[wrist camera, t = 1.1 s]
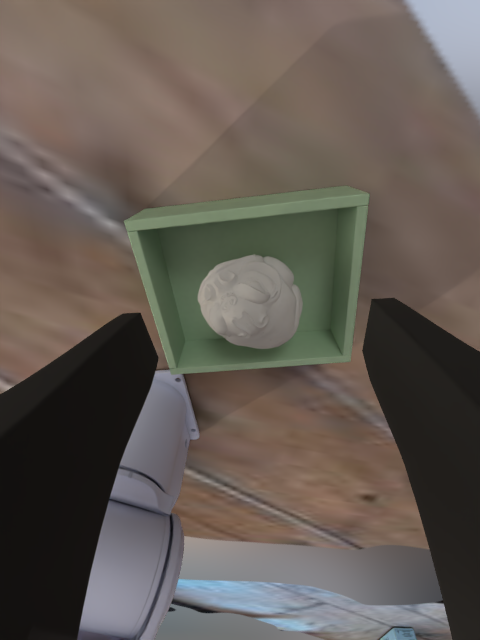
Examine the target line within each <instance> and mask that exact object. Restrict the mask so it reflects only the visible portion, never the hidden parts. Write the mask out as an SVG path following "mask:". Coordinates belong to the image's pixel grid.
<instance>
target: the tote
mask: <svg viewBox="0 0 480 640" xmlns="http://www.w3.org/2000/svg"><path fill="white" fill-rule="evenodd" d="M369 196H370V194H369V193H367V192H364V191H361V190H358V189H355V188H352V187H349V186H339V187H330V188H321V189H313V190H304V191H295V192H287V193H278V194H269V195H261V196H252V197H244V198H235V199H226V200H218V201H209V202H200V203H192V204H183V205H175V206H166V207H157V208H149V209H144V210H143V211H141V212H139V213H138V214H136V215H134V216H132V217H131V218H129V219H127V220H125V221H124V223H125V226H126V230H127V231H128V236H129V239H130V243H131V246H132V249H133V252H134V256H135V259H136V262H137V265H138V268H139V272H140V275H141V278H142V281H143V285H144V288H145V291H146V294H147V298H148V301H149V304H150V307H151V311H152V314H153V317H154V320H155V324H156V327H157V330H158V333H159V337H160V340H161V343H162V346H163V350H164V353H165V356H166V359H167V363H168V366H169V368H170V373H171V375H176V374H189V373H203V372H217V371H231V370H244V369H258V368H272V367H286V366H300V365H313V364H327V363H341V362H350V361H351V352H352V343H353V334H354V326H355V317H356V308H357V300H358V291H359V283H360V274H361V265H362V257H363V248H364V239H365V231H366V222H367V213H368V204H369ZM253 254H255V255H259V256H262V257H263V258H264V257H266V256H269V257H273V258H276V259H278V260H280V261H281V262H283V263H284V264H285V265H286V266H287V267H288V268H289V269H290V270H291V271H292V273H293V275H294V282H293V284H294V285H296V286H298V288H299V290H300V293H301V297H302V302H303V305H302V313H301V316H300V318H299V325H298V328H297V330H296V332H295V334H294V335H293V337H292V338H291V339H290V340H288V342H285V343H284V344H282V345H281V346H278V347H274V348H269V349H257V348H251V347H247V346H238V345H234V344H232V343H230V342H229V341H227V340H226V339H225V338H224V337H223V336H220V335H219V334H217V333H216V332H215V331H214V330H213V329H212V328H211V327H210V326H209V324H208V323H207V321H206V320H205V318H204V316H203V314H202V312H201V306H200V303H199V302H198V293H199V289H200V285H201V283H202V281H203V280H204V279H205V278H206V276H207V275H208V273H209V272H210V271H211V270H213V269H214V267H215V266H216V265H218V264H220V263H223V262H227V261H230V260H235V259H239V258H242V257H245V256H249V255H253Z"/></svg>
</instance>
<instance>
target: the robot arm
mask: <svg viewBox="0 0 480 640" xmlns="http://www.w3.org/2000/svg"><path fill="white" fill-rule="evenodd" d="M362 351H363V355H364V359H365V363H366V367H367V371H368V374H369V378H370V381H371V384H372V386H373V389H374V391H375V393H376V396H377V398H378V401H379V403H380V406H381V408H382V410H383V413H384V415H385V418H386V420H387V422H388V425H389V427H390V429H391V432H392V434H393V437H394V439H395V441H396V444H397V446H398V448H399V451H400V454H401V456H402V459H403V462H404V464H405V467H406V470H407V474H408V477H409V480H410V483H411V487H412V490H413V493H414V496H415V500H416V503H417V506H418V510H419V513H420V517H421V520H422V524H423V527H424V531H425V534H426V538H427V541H428V545H429V548H430V551H431V556H432V559H433V563H434V567H435V571H436V575H437V578H438V582H439V586H440V590H441V594H442V598H443V601H444V606H445V610H446V614H447V618H448V622H449V626H450V631H451V635H452V639H453V640H480V352H479V351H477V350H476V349H474V348H472V347H471V346H469V345H467V344H466V343H464V342H462V341H461V340H459V339H458V338H456V337H454V336H453V335H451V334H450V333H448V332H447V331H445V330H443V329H442V328H440V327H439V326H437V325H436V324H434V323H433V322H431V321H430V320H428V319H427V318H425V317H423V316H422V315H420V314H419V313H417V312H416V311H414V310H413V309H411V308H410V307H408V306H407V305H405V304H403V303H402V302H400V301H398V300H397V299H395V298H385V299H372V301H371V306H370V312H369V317H368V323H367V328H366V334H365V339H364V345H363V350H362ZM157 362H158V355H157V353H156V351H155V348H154V346H153V343H152V341H151V338H150V336H149V333H148V331H147V328H146V326H145V323H144V321H143V318H142V316H141V313H127V314H122V315H120V316H118V317H116V318H115V319H113V320H112V321H110V322H109V323H107V324H106V325H104V326H103V327H101V328H100V329H98V330H97V331H96V332H94V333H93V334H91V335H90V336H89V337H87V338H86V339H84V340H83V341H81V342H80V343H79V344H77V345H76V346H74V347H73V348H72V349H70V350H69V351H67V352H66V353H64V354H63V355H62V356H60V357H59V358H57V359H56V360H54V361H53V362H51V363H50V364H48V365H47V366H45V367H43V368H42V369H40V370H39V371H37V372H36V373H34V374H33V375H31V376H30V377H28V378H27V379H25V380H24V381H22V382H20V383H19V384H17V385H15V386H14V387H12V388H10V389H9V390H7V391H5V392H4V393H2V394H0V640H154V639H155V637H156V634H157V631H158V629H159V627H160V625H161V623H162V622H163V620H164V617H165V616H166V614H167V612H168V609H169V607H170V604H171V602H172V599H173V596H174V593H175V589H176V586H177V582H178V578H179V574H180V570H181V564H182V558H183V550H184V533H183V529H182V526H181V521H180V518H179V516H178V515H177V514H174V513H171V510H172V508H173V506H174V505H175V503H176V501H177V499H178V497H179V494H180V490H181V485H182V479H183V474H184V469H185V464H186V459H187V453H188V448H189V443H190V440H192V439H198V438H199V437H200V432H199V429H198V425H197V421H196V418H195V414H194V411H193V407H192V404H191V400H190V396H189V393H188V389H187V386H186V382H185V379H184V375H183V374H176V375H171V373H170V370H158V371H156V367H157ZM177 378H180V379H177Z"/></svg>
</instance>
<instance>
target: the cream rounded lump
mask: <svg viewBox="0 0 480 640" xmlns="http://www.w3.org/2000/svg"><path fill="white" fill-rule="evenodd" d="M293 282H294V275H293V273H292V271H291V270H290V269H289V268H288V267H287V266H286V265H285V264H284V263H283V262H281V261H280V260H278V259H276V258H273V257H269V256H266V257H264V258H263V257H262V256H259V255H255V254H253V255H249V256H245V257H242V258H239V259H235V260H230V261H227V262H223V263H220V264H218V265H216V266H215V267H214V269H213V270H211V271H210V272H209V273H208V275H207V276H206V278H205V279H204V280H203V281H202V283H201V285H200V289H199V293H198V302H199V303H200V306H201V312H202V314H203V316H204V318H205V320H206V321H207V323H208V324H209V326H210V327H211V328H212V329H213V330H214V331H215V332H216V333H217V334H219V335H220V336H223V337H224V338H225V339H226V340H227V341H229V342H230V343H232V344H234V345H238V346H247V347H251V348H257V349H269V348H274V347H278V346H281V345H282V344H284V343H285V342H288V340H290V339H291V338H292V337H293V335H294V334H295V332H296V330H297V328H298V325H299V318H300V316H301V313H302V305H303V302H302V297H301V293H300V290H299V288H298V286H296V285H294V284H293Z"/></svg>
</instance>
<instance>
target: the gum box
mask: <svg viewBox="0 0 480 640" xmlns="http://www.w3.org/2000/svg"><path fill="white" fill-rule="evenodd" d="M380 640H417V638H416V635H415V632H414V629H413V628H396V627H395V628H393V629H392V630H390V631H389V632H388V633H387V634H386V635H384V636H383V637H382V638H381V639H380Z"/></svg>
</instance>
